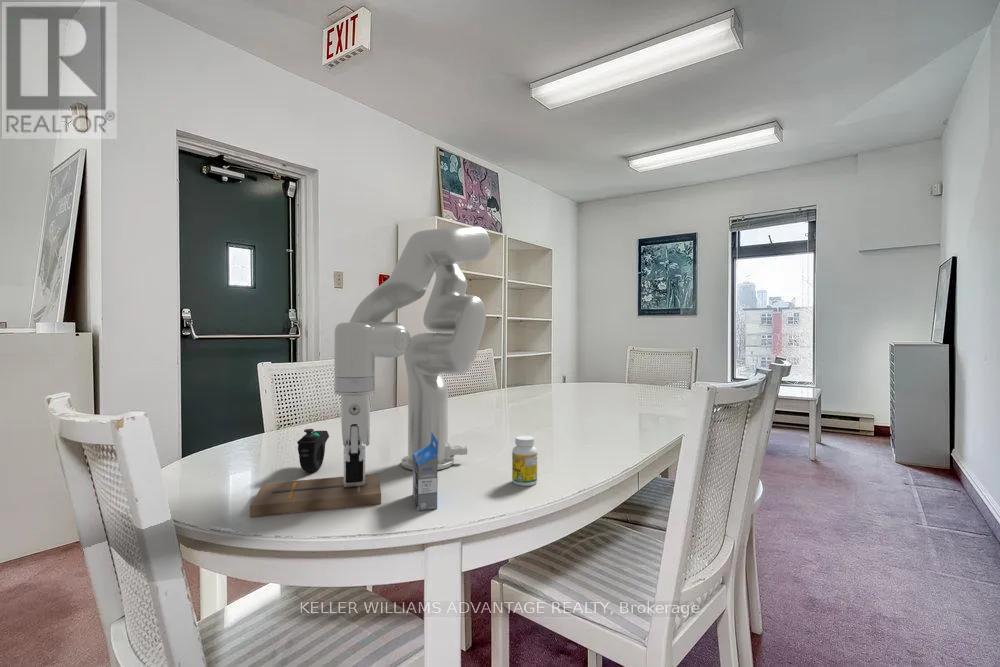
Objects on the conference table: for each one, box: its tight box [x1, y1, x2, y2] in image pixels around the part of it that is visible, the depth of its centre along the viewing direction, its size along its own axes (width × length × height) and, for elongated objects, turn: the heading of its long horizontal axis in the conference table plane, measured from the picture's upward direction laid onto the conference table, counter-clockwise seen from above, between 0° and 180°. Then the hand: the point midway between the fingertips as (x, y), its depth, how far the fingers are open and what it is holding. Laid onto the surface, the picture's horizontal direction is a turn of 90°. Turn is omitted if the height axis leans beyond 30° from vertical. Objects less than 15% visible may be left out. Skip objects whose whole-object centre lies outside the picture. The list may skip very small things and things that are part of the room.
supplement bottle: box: [511, 435, 538, 487], centre depth 99 cm, size 5×5×10 cm
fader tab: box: [343, 445, 366, 487], centre depth 90 cm, size 4×3×7 cm
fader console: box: [249, 473, 382, 518], centre depth 89 cm, size 22×12×2 cm, turn 107°
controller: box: [296, 428, 330, 472], centre depth 107 cm, size 4×12×10 cm, turn 5°
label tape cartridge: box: [412, 432, 439, 512], centre depth 87 cm, size 9×4×12 cm, turn 17°
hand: (354, 477), depth 90 cm, fingers closed on fader tab, 3 cm apart
